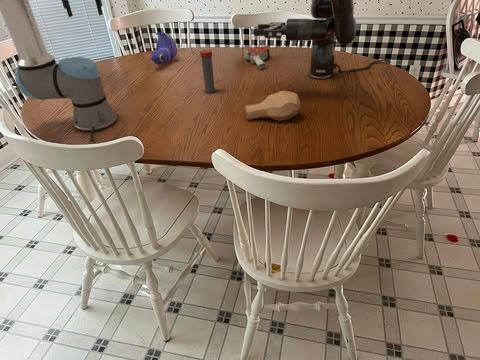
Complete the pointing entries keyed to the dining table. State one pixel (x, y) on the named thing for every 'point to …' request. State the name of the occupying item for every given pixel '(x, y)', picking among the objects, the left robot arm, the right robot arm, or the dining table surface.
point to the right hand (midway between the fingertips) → (256, 29)
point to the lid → (206, 53)
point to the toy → (164, 49)
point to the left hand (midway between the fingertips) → (85, 15)
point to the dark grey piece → (208, 75)
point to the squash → (275, 106)
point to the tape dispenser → (257, 55)
